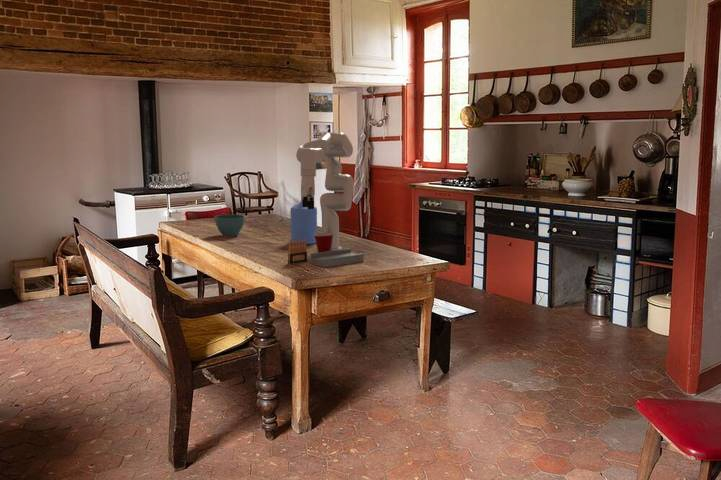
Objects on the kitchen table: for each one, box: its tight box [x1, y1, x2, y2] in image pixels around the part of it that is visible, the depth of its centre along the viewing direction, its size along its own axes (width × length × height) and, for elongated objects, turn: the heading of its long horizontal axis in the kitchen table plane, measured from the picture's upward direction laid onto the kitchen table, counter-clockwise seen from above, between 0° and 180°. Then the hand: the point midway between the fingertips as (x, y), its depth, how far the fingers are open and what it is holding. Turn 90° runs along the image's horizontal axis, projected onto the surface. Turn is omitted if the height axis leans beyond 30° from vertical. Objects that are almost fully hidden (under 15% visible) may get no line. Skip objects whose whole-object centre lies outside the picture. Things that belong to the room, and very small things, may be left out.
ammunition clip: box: [287, 238, 308, 265], centre depth 330 cm, size 11×2×12 cm, turn 130°
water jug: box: [290, 194, 318, 246], centre depth 386 cm, size 16×16×28 cm
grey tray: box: [310, 247, 365, 268], centre depth 331 cm, size 12×24×5 cm, turn 128°
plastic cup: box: [314, 232, 334, 253], centre depth 348 cm, size 11×11×12 cm
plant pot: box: [214, 214, 245, 238], centre depth 411 cm, size 18×18×12 cm
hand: (308, 208), depth 326 cm, fingers open, 9 cm apart
